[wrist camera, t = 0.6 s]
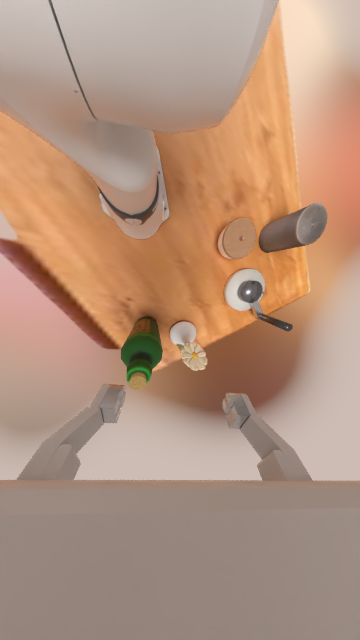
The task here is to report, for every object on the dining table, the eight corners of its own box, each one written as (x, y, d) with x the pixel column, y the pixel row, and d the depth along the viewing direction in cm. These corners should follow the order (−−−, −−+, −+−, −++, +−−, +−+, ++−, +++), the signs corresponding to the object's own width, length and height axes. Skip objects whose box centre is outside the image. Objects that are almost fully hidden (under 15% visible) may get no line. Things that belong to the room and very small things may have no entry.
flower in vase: (200, 332, 56) (231, 374, 33) (180, 348, 57) (197, 400, 34) (181, 311, 51) (203, 343, 28) (160, 329, 52) (164, 375, 29)
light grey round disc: (226, 268, 48) (231, 268, 45) (263, 269, 51) (269, 269, 48) (221, 309, 54) (224, 311, 51) (254, 308, 56) (259, 310, 54)
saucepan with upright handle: (234, 288, 48) (263, 294, 35) (252, 275, 47) (288, 277, 34) (250, 322, 54) (279, 337, 41) (265, 311, 54) (300, 323, 41)
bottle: (137, 309, 48) (116, 353, 22) (164, 319, 51) (173, 367, 25) (129, 333, 50) (101, 398, 24) (154, 341, 53) (154, 405, 28)
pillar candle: (279, 251, 50) (327, 242, 36) (256, 253, 48) (297, 245, 34) (284, 221, 46) (339, 199, 32) (260, 222, 45) (307, 199, 31)
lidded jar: (240, 258, 48) (259, 255, 39) (213, 263, 47) (226, 260, 38) (241, 224, 44) (262, 212, 35) (211, 228, 43) (226, 217, 34)
